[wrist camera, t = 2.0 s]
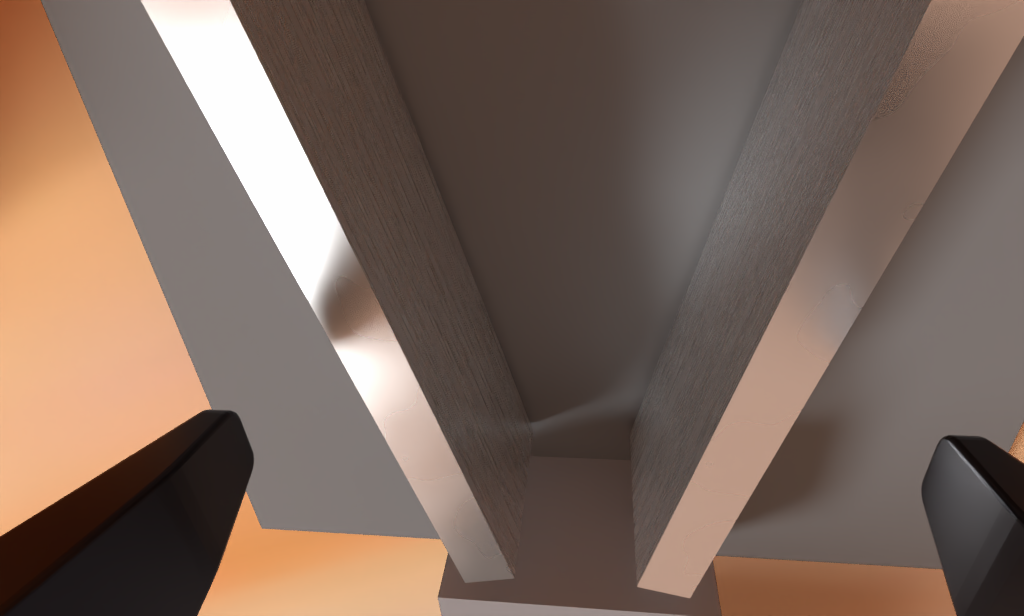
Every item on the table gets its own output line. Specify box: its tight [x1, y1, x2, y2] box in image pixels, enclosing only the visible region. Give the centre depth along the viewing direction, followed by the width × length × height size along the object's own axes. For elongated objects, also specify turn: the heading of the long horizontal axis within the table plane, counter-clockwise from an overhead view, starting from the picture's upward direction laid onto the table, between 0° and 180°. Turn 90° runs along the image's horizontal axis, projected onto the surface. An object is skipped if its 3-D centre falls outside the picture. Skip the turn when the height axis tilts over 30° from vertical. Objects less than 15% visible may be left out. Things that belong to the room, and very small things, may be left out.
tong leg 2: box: [630, 0, 1024, 598], centre depth 10 cm, size 14×1×4 cm, turn 170°
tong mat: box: [41, 0, 1024, 616], centre depth 11 cm, size 22×19×5 cm
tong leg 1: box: [141, 0, 533, 583], centre depth 11 cm, size 14×1×4 cm, turn 18°
